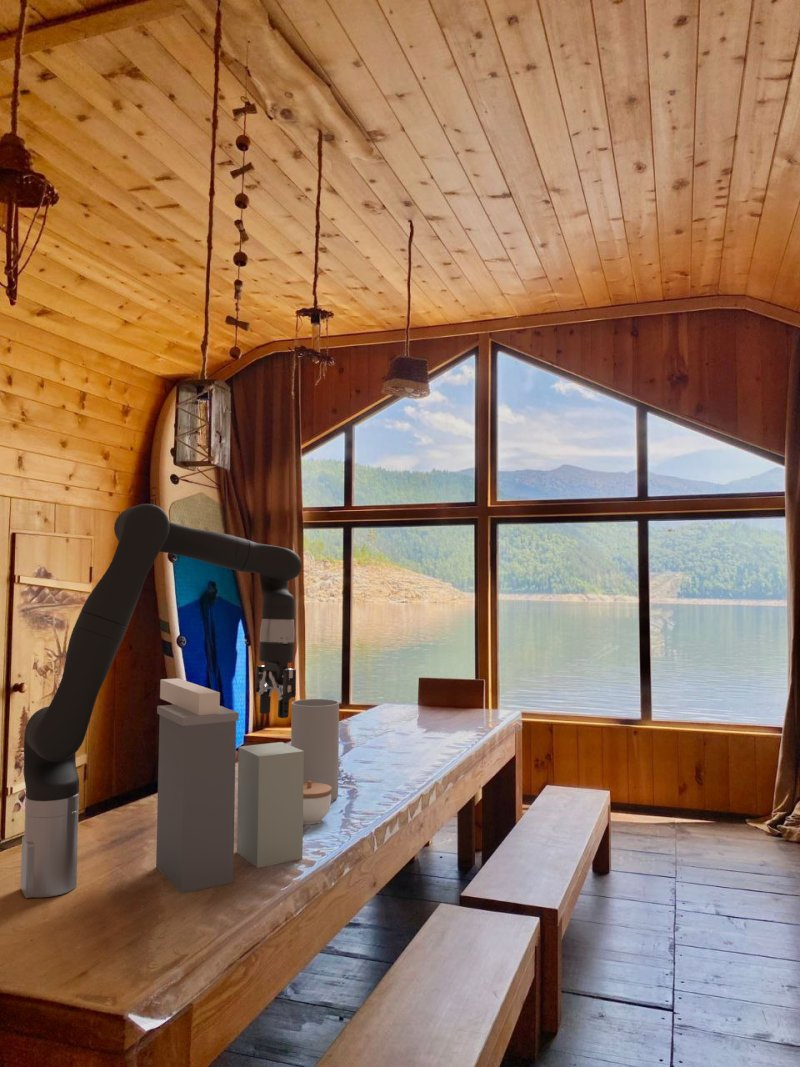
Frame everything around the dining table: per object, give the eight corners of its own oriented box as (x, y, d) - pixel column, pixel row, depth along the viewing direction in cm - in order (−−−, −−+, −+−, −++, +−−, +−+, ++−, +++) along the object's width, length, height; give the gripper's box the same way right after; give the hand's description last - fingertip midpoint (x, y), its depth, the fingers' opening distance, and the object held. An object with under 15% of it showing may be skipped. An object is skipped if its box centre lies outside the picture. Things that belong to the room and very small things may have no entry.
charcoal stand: (178, 893, 149) (182, 717, 151) (153, 867, 163) (157, 705, 164) (235, 882, 155) (238, 712, 157) (206, 857, 168) (209, 701, 170)
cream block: (199, 715, 154) (199, 693, 154) (160, 698, 175) (160, 679, 175) (219, 713, 156) (219, 692, 156) (178, 696, 177) (178, 678, 177)
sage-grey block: (257, 867, 163) (259, 756, 164) (236, 852, 172) (238, 746, 173) (302, 858, 168) (303, 751, 169) (280, 843, 177) (281, 741, 179)
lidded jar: (337, 816, 198) (338, 777, 199) (321, 829, 188) (322, 788, 188) (297, 812, 201) (297, 774, 202) (279, 825, 191) (279, 784, 191)
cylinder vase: (285, 794, 218) (287, 700, 219) (330, 790, 222) (331, 698, 224) (296, 806, 206) (297, 707, 208) (343, 802, 211) (344, 704, 212)
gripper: (247, 639, 182) (243, 713, 180) (277, 641, 170) (273, 720, 168) (277, 639, 186) (273, 711, 184) (308, 641, 175) (305, 718, 173)
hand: (273, 715), depth 176 cm, fingers open, 8 cm apart
